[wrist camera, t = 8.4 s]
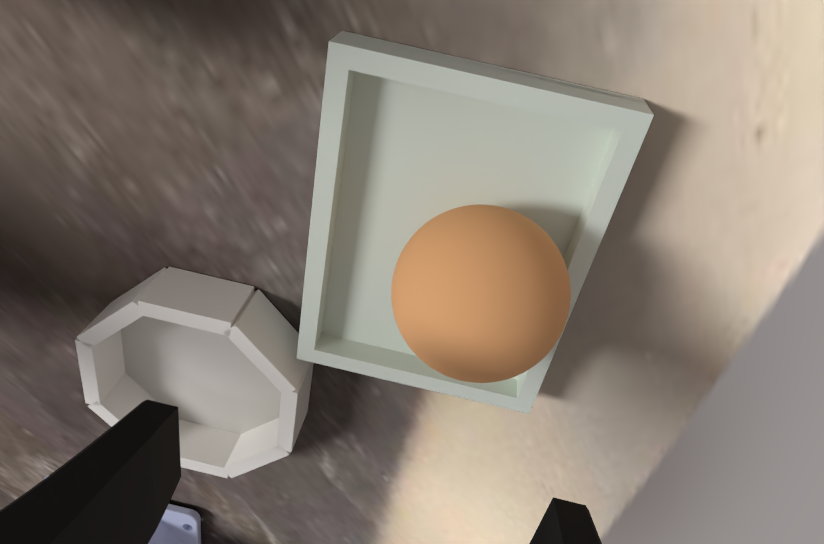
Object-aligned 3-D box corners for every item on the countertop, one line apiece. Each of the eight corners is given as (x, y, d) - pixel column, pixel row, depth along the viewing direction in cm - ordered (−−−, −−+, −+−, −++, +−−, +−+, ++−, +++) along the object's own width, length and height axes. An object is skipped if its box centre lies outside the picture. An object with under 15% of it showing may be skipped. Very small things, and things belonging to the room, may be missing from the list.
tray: (528, 385, 22) (529, 413, 21) (307, 333, 22) (296, 358, 21) (643, 99, 16) (653, 114, 15) (342, 30, 16) (328, 41, 15)
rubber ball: (495, 305, 21) (569, 411, 17) (359, 312, 19) (408, 432, 15) (538, 176, 18) (637, 267, 15) (385, 170, 16) (453, 272, 13)
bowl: (302, 450, 26) (286, 492, 24) (121, 407, 26) (92, 445, 24) (321, 302, 22) (303, 339, 20) (103, 250, 22) (65, 283, 20)
